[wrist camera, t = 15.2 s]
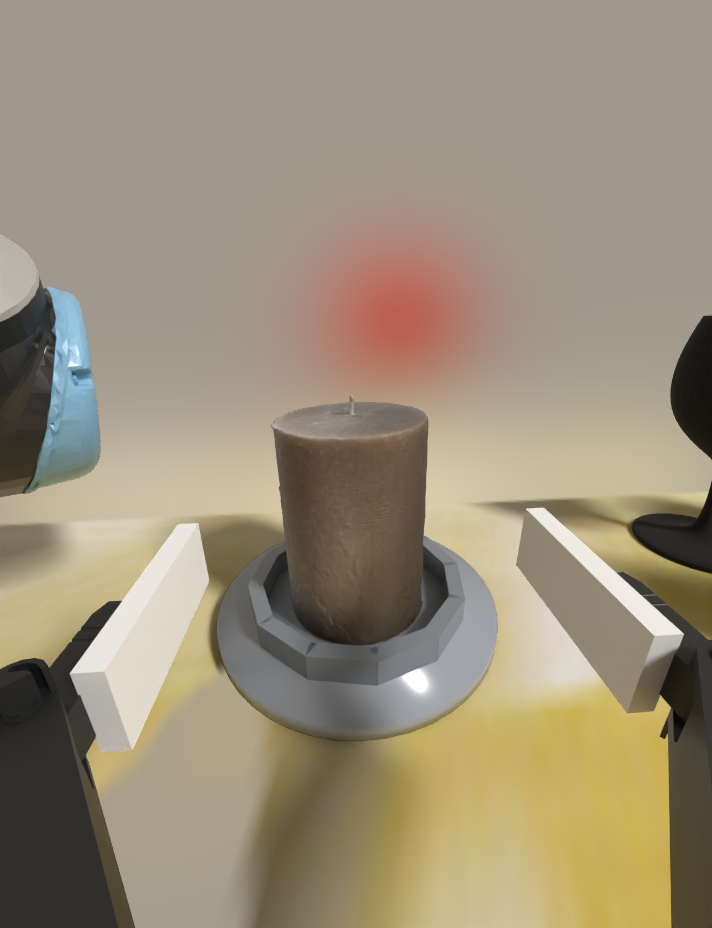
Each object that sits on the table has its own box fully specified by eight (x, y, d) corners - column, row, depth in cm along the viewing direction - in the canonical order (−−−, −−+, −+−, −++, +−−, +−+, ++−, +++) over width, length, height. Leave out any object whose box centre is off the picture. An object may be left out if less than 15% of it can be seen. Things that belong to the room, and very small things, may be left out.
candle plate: (155, 720, 21) (144, 683, 20) (271, 530, 39) (268, 506, 38) (538, 761, 19) (547, 721, 18) (470, 539, 37) (472, 513, 36)
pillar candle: (450, 613, 26) (467, 398, 21) (321, 672, 22) (302, 422, 17) (378, 546, 35) (377, 379, 29) (273, 580, 30) (250, 391, 25)
